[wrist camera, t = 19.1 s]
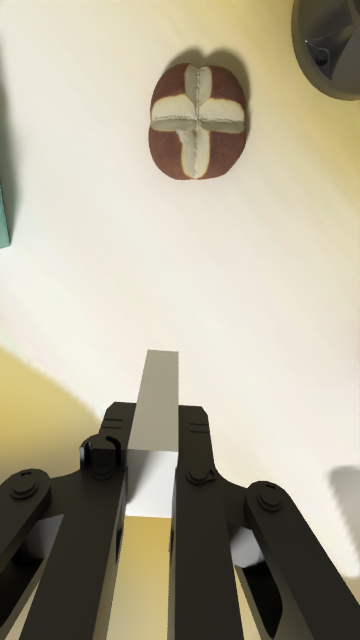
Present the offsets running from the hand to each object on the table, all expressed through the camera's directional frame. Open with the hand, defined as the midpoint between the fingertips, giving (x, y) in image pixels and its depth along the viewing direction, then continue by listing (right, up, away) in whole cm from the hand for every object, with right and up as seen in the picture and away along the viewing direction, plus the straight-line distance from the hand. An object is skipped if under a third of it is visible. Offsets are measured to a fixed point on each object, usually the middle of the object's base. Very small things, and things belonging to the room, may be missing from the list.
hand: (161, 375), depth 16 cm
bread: (+3, +25, +21) cm, 33 cm away
